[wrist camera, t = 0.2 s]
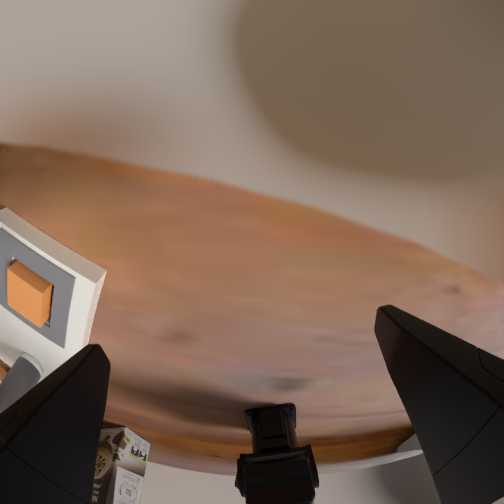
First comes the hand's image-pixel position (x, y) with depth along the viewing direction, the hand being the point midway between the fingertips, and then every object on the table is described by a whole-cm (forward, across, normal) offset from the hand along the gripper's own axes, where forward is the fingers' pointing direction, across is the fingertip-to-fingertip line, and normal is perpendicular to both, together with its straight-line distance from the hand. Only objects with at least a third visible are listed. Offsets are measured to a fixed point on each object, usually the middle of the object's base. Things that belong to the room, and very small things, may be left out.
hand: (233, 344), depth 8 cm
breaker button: (+13, +21, +3) cm, 25 cm away
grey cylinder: (+12, +29, +13) cm, 34 cm away
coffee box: (+14, +26, +34) cm, 45 cm away
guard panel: (+14, +25, +8) cm, 30 cm away
